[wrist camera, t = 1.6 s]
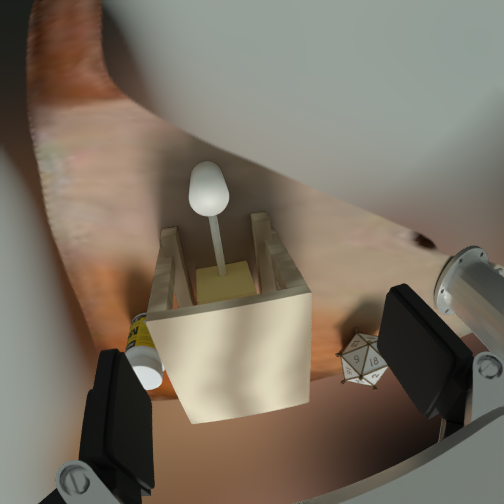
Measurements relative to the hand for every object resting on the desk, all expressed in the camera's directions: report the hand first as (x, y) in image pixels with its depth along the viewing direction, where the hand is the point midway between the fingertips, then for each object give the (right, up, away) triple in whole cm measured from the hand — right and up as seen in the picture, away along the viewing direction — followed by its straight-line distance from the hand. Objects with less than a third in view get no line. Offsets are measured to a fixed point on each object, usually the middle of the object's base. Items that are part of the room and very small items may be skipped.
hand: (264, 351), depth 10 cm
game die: (+15, -10, +33) cm, 37 cm away
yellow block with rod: (-4, +4, +22) cm, 23 cm away
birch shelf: (-3, -1, +25) cm, 25 cm away
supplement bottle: (-13, -6, +26) cm, 29 cm away
